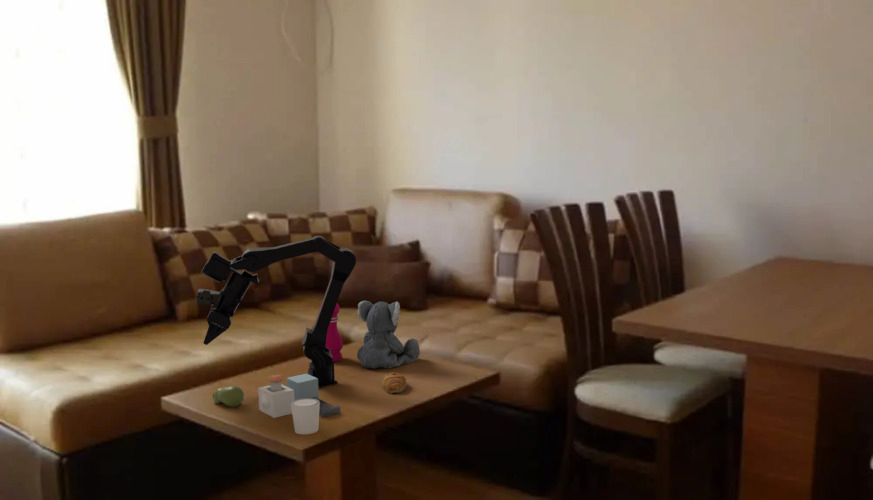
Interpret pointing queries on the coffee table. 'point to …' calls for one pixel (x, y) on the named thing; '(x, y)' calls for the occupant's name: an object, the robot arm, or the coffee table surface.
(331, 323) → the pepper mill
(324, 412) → the rail
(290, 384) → the block
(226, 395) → the green eggplant
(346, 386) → the coffee table surface
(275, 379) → the button
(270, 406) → the cabinet
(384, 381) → the pastry
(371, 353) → the koala plush
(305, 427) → the shot glass
